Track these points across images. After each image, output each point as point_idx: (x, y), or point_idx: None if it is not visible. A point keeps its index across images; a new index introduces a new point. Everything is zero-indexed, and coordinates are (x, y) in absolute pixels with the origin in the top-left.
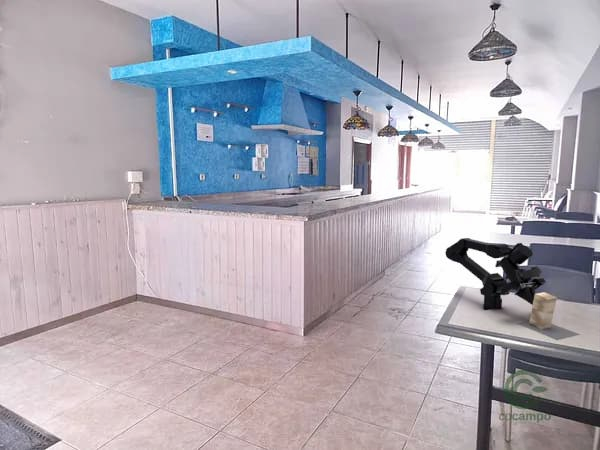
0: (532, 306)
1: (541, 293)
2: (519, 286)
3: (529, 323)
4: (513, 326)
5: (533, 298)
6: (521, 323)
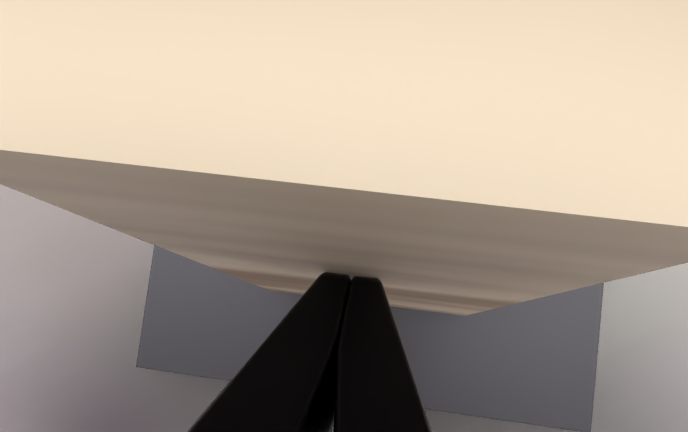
0: (533, 295)
1: (249, 90)
2: None
3: (421, 330)
4: (651, 424)
5: (350, 427)
6: (527, 390)
